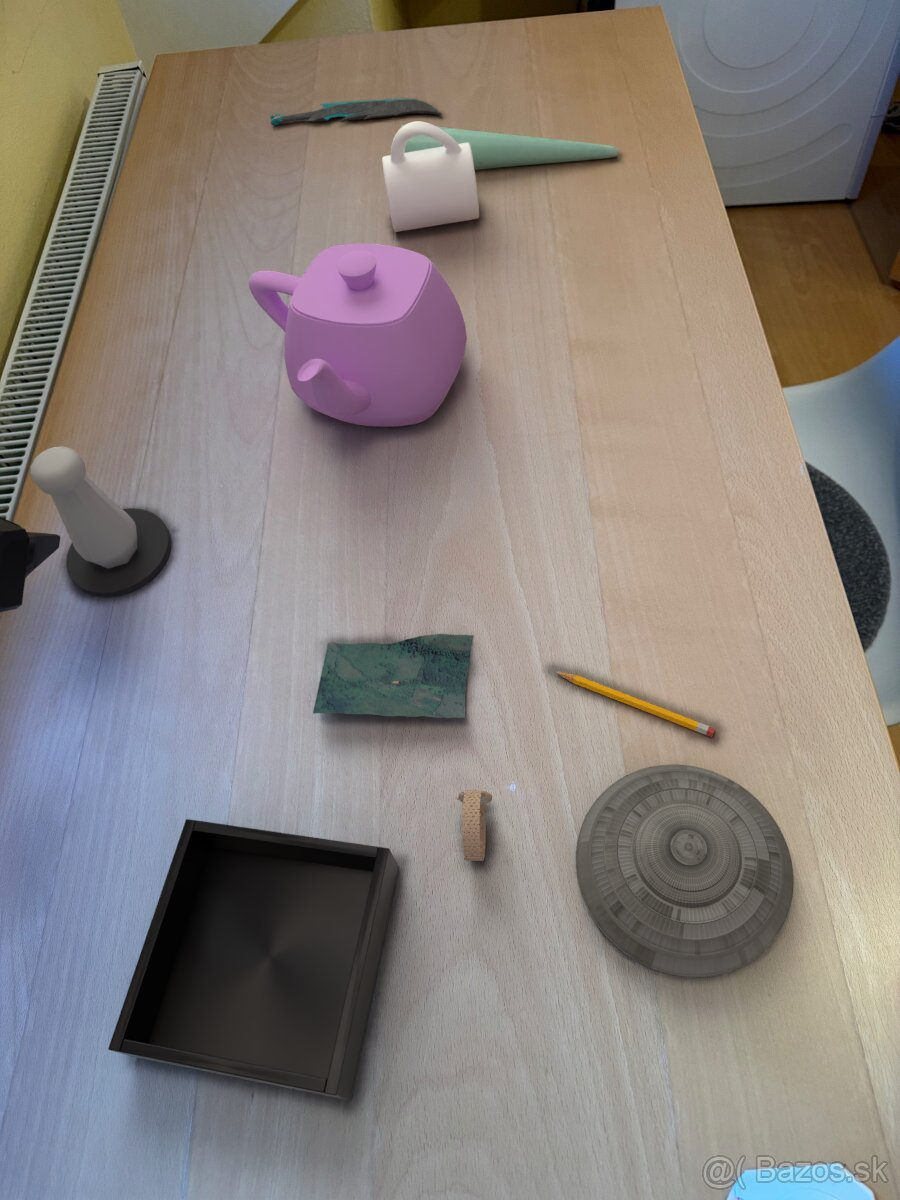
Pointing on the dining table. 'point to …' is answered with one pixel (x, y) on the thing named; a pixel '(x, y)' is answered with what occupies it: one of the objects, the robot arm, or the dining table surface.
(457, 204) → the mug
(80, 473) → the salt shaker
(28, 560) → the robot arm
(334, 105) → the knife
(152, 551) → the disc
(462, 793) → the perforated watch strap
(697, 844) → the flying saucer
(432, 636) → the terrain model
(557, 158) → the long green cone
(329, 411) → the teapot
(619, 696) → the pencil
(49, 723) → the dining table surface
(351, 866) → the tin
